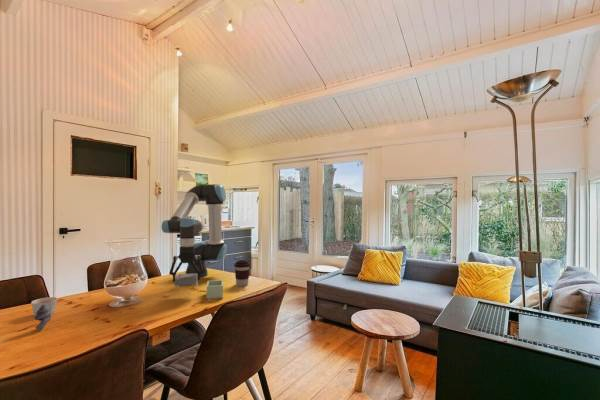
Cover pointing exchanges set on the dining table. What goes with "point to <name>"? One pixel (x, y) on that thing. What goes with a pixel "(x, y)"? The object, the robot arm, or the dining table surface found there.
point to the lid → (185, 279)
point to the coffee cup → (242, 272)
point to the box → (214, 289)
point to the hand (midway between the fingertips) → (186, 286)
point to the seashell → (43, 316)
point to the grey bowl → (47, 301)
